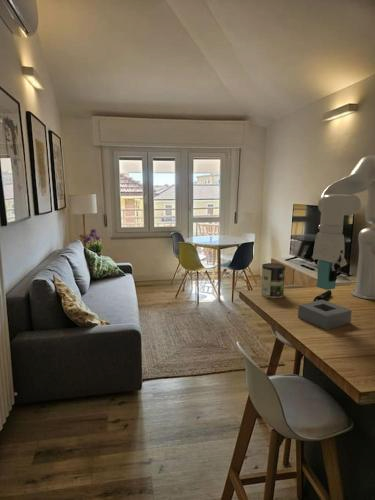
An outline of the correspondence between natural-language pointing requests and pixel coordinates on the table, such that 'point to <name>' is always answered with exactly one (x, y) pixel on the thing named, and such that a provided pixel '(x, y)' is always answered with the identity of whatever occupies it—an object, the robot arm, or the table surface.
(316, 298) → the electric trimmer
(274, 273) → the coffee can
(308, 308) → the socket
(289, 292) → the table surface
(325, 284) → the peg
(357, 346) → the table surface
